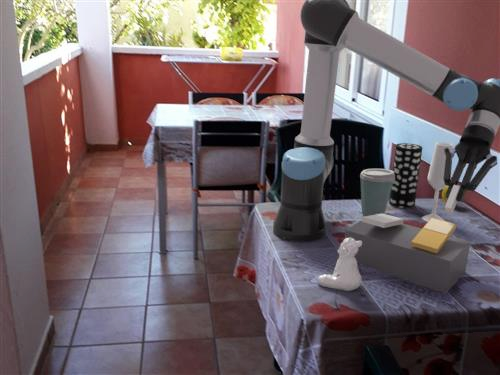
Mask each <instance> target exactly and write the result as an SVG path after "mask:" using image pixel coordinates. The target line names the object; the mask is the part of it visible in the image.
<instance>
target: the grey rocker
mask: <svg viewBox="0 0 500 375" xmlns="http://www.w3.org/2000/svg"><path fill="white" fill-rule="evenodd" d="M404 219H405V218H401V217H397V216H393V215H389V214H385V213H384V214H383V213H382V214H375V215H370V216H364V217H363V216H362V217H361V219H360V221H361V222H365V223H368V224H372V225H375V226H379V227H382V228H386V227H391V226H396V225H400V224H404Z"/></svg>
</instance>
